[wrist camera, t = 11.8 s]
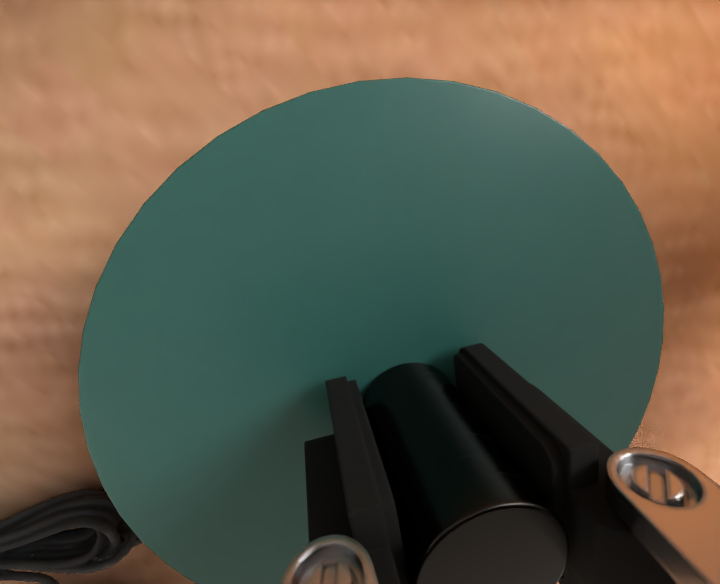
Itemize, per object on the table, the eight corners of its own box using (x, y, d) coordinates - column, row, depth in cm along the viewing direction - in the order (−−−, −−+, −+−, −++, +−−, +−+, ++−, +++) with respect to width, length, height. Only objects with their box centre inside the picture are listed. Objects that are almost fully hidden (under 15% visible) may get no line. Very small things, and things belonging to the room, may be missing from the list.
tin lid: (645, 48, 10) (1102, -124, 4) (617, 507, 14) (811, 703, 9) (-15, 149, 8) (-711, 78, 2) (206, 636, 13) (142, 976, 7)
